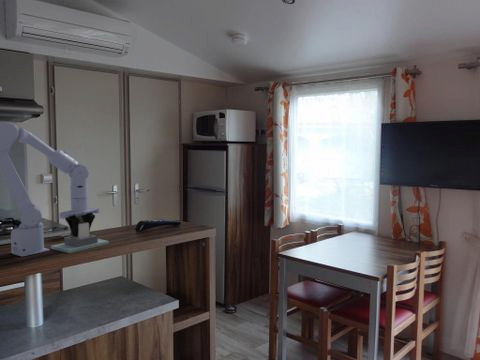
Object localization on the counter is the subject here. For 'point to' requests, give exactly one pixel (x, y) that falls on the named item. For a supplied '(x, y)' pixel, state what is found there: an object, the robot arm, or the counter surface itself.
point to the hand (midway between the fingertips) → (80, 235)
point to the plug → (82, 229)
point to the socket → (79, 244)
